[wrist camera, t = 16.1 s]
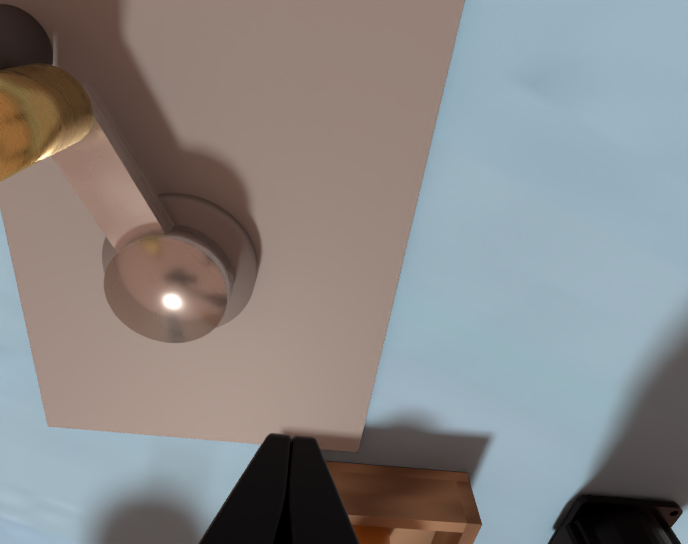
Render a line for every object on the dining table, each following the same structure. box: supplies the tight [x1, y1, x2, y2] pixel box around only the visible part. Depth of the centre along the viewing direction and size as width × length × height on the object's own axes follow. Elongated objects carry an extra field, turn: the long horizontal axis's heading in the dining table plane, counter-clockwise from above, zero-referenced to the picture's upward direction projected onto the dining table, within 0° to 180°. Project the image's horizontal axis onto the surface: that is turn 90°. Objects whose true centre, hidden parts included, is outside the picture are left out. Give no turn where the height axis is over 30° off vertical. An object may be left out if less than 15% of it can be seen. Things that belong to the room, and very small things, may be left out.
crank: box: [0, 63, 234, 343], centre depth 15 cm, size 10×4×6 cm, turn 20°
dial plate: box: [0, 0, 465, 452], centre depth 19 cm, size 16×22×1 cm
